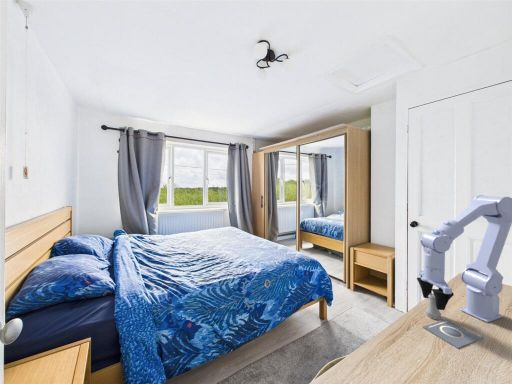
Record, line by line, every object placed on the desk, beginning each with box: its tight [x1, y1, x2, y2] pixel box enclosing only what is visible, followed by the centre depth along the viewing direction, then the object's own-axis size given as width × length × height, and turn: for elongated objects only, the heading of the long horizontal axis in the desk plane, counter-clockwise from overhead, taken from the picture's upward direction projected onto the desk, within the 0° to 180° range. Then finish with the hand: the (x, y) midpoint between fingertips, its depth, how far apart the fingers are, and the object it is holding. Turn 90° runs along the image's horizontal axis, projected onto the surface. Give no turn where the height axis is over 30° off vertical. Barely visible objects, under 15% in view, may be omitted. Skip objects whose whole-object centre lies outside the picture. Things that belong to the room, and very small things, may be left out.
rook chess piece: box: [425, 292, 442, 320], centre depth 80 cm, size 4×4×8 cm
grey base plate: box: [422, 318, 484, 349], centre depth 71 cm, size 12×10×1 cm
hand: (433, 303), depth 80 cm, fingers open, 7 cm apart
